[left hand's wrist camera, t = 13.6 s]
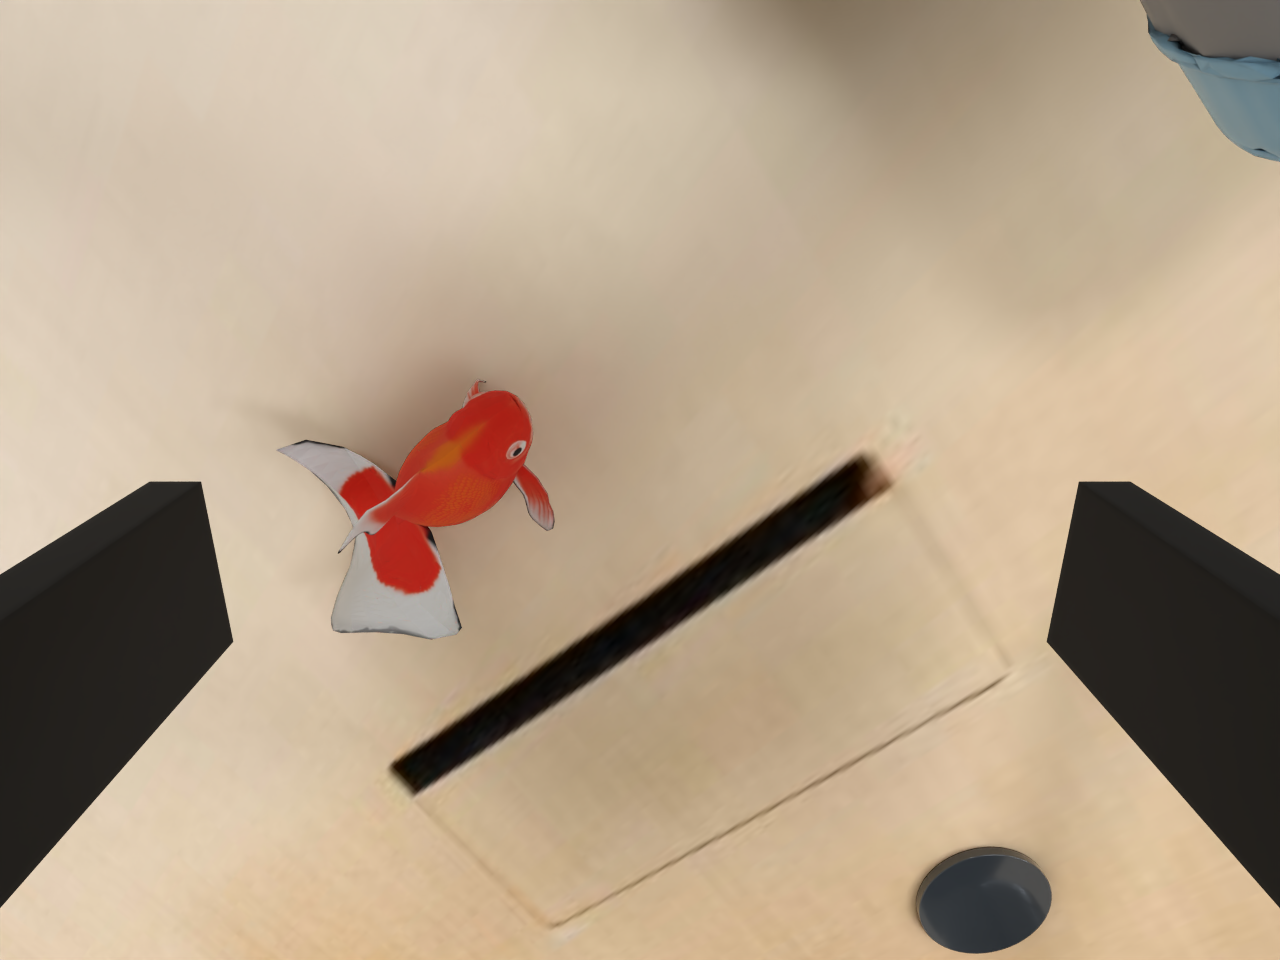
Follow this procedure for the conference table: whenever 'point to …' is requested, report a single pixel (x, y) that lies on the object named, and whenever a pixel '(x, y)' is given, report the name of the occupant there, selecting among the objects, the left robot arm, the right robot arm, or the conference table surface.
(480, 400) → the fish
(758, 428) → the conference table surface
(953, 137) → the conference table surface
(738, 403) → the conference table surface
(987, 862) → the coaster
